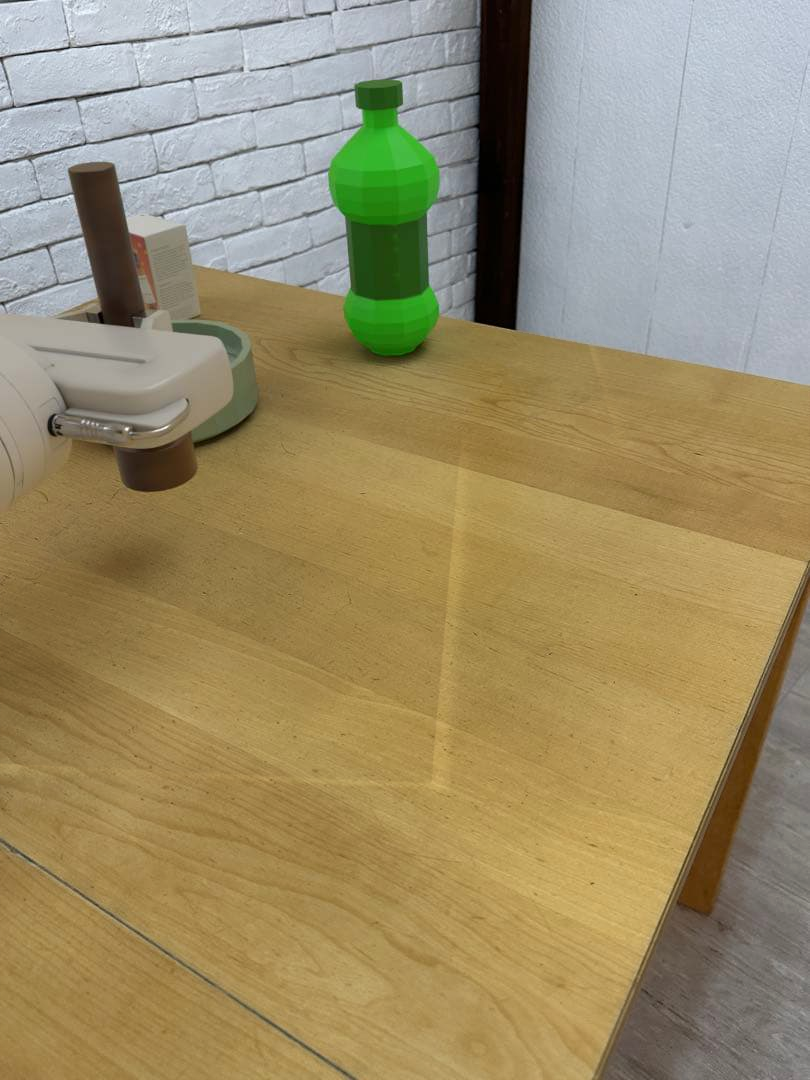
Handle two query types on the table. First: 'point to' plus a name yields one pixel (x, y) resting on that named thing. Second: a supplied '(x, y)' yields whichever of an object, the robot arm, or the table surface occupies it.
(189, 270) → the small box
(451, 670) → the table surface
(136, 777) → the table surface
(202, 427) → the bowl
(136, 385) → the robot arm
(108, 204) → the pestle
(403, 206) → the plastic bottle
